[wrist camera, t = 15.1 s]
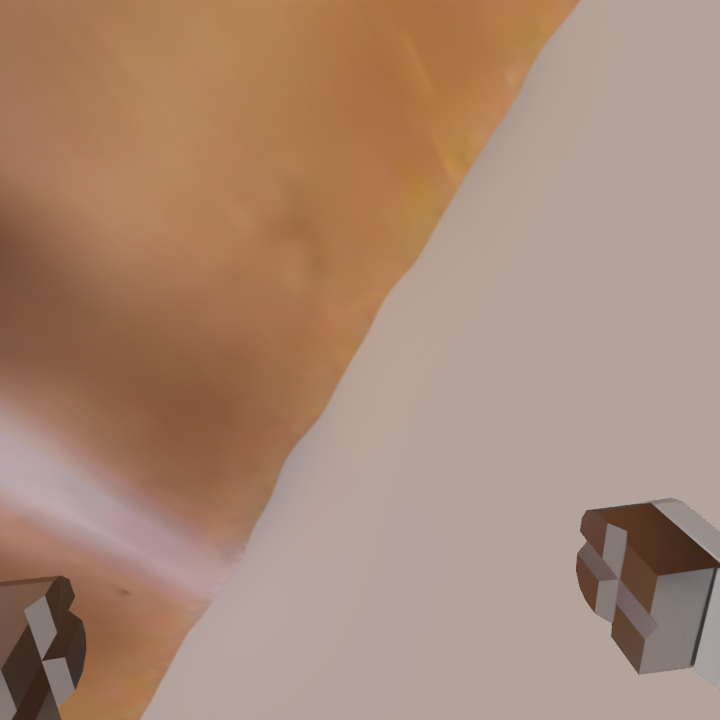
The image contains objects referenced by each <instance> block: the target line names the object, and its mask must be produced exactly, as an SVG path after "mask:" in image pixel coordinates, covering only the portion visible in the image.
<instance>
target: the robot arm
mask: <svg viewBox="0 0 720 720" xmlns="http://www.w3.org/2000/svg"><path fill="white" fill-rule="evenodd" d="M580 532H581V533H582V534H583V536H584V537H585V538H586V540H587V542H586V544H585V545H584V546H583V547H582V548H581V550H580V551H579V552H578V553H577V564H576V572H577V577H578V582H579V586H580V589H581V591H582V593H583V595H584V598H585V600H586V601H587V603H588V604H589V606H590V607H591V609H592V610H593V611H594V613H595V614H597V615H599V616H600V617H602V618H604V619H605V620H607V621H609V622H611V623H612V634H611V637H612V638H613V640H614V641H615V642H616V644H617V645H618V646H619V648H620V649H621V651H622V652H623V653H624V655H625V656H626V658H627V659H628V660H629V662H630V663H631V664H632V666H633V667H634V668H635V670H636V671H637V673H638V674H639V675H640V674H647V673H654V672H662V671H670V670H677V669H685V668H692V667H694V669H693V671H694V672H696V673H697V674H699V675H700V676H702V677H703V678H705V679H706V680H707V681H709V682H710V683H712V684H713V685H715V686H716V687H718V688H719V689H720V531H719V530H717V529H716V528H715V527H714V526H712V525H711V524H710V523H709V522H707V521H706V520H705V519H703V518H702V517H701V516H700V515H698V514H697V513H696V512H695V511H694V510H692V509H691V508H690V507H689V506H687V505H686V504H685V503H684V502H682V501H679V500H677V499H674V498H668V499H661V500H654V501H648V502H643V503H640V504H632V505H624V506H617V507H609V508H601V509H594V510H587V511H586V512H585V514H584V516H583V517H582V521H581V528H580ZM74 598H75V595H74V592H73V589H72V586H71V583H70V580H69V579H68V578H65V577H63V576H53V577H43V578H34V579H24V580H14V581H4V582H0V720H61V717H60V714H59V711H58V708H57V707H58V706H60V705H61V704H62V703H63V702H64V701H65V700H66V699H67V698H68V697H69V696H70V695H71V694H72V693H73V692H74V691H75V690H76V687H77V685H78V682H79V680H80V677H81V674H82V672H83V667H84V661H85V655H86V634H85V630H84V626H83V622H82V620H81V619H80V618H78V617H77V616H76V615H74V614H73V613H71V612H70V611H69V608H70V606H71V604H72V602H73V600H74Z"/></svg>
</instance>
